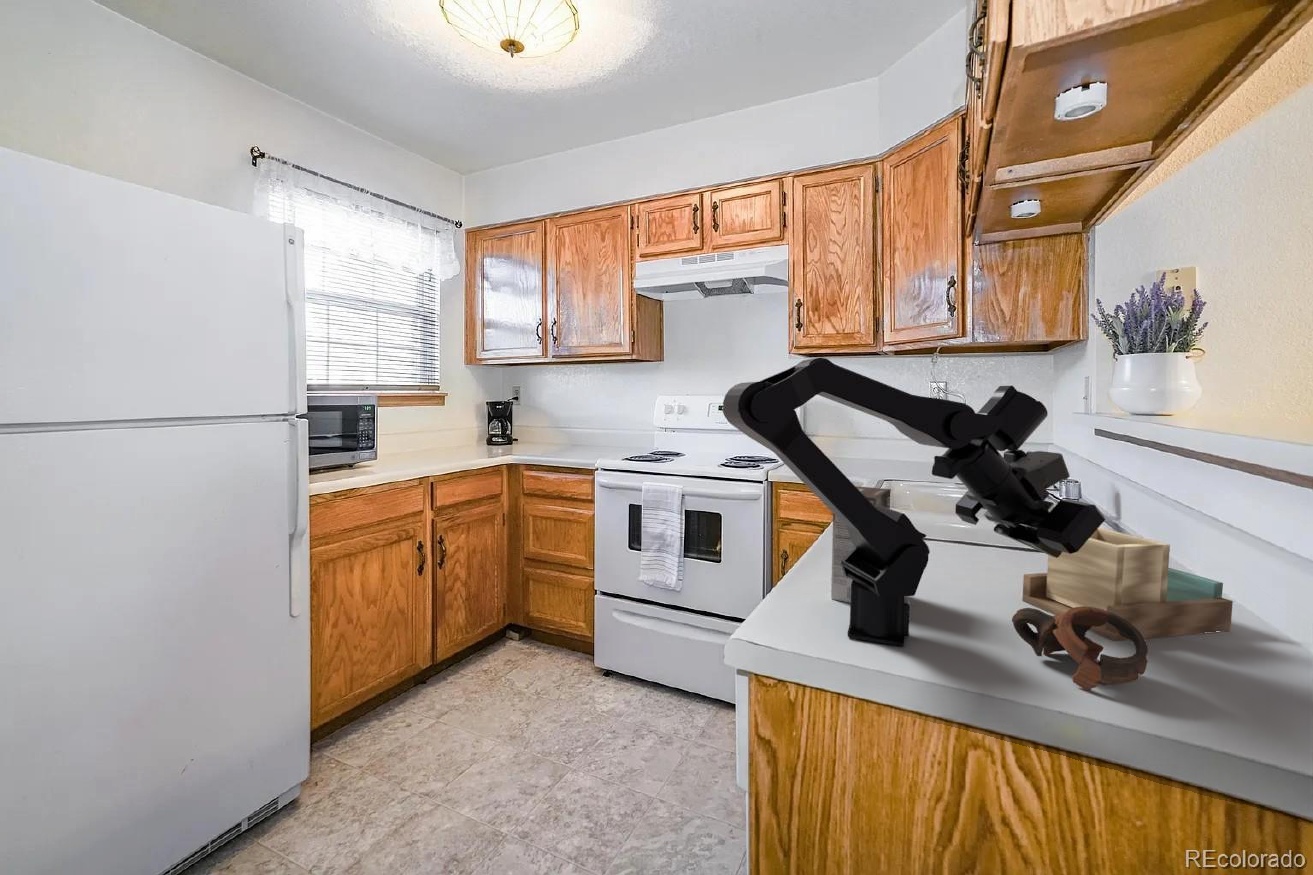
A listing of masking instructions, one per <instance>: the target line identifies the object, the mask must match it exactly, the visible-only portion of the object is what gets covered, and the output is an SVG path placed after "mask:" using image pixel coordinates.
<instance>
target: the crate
mask: <svg viewBox="0 0 1313 875" xmlns="http://www.w3.org/2000/svg"><path fill="white" fill-rule="evenodd" d="M1170 548H1171V544H1169V543H1165V542H1161V541H1157V540H1154V539H1153V540H1152V539H1148V538H1144V537H1139V536H1136V535H1131V534H1128V533H1124V532H1123V533H1122V532H1119V531H1115V530H1111V529H1106V528H1102V527H1099V528H1098V529H1097V530H1096V531H1095V532H1094V533H1093V534H1092V536H1091V537H1090V538H1089V539H1088V540H1087V541H1086V543H1085V544H1084V545H1083V546H1082V547H1081V548H1080V550H1079V551H1078V552H1075V553H1072V554H1069V553H1066V552H1062V553H1061V555H1060V556H1059V557H1058V558H1055V557H1052V556H1050V555H1048V554H1047V570H1046V573H1047V588H1046V597H1048V598H1050V599H1053V600H1055V601H1058V602H1060V603H1063V604H1065V605H1068V606H1070V607H1072V608H1075V607H1082V606H1085V607H1094V608H1098V609H1102V610H1105V611H1107V606H1114V605H1128V604H1142V603H1156V602H1166V594H1167V580H1168V568H1169V563H1170V551H1171V549H1170Z"/></svg>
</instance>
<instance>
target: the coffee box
mask: <svg viewBox="0 0 1313 875" xmlns="http://www.w3.org/2000/svg"><path fill="white" fill-rule="evenodd" d="M854 486H855V487H856V488H857V489H858V490H859V491H860V492H861V493H862V494H863V495H864V496H865V497H866V498H867V499H868V500H869V501H870V502H871V503H872V504H873V505H874V506H875V508H876V506H877V505H880V506H883V507H886V508H889V509H891V505H890V504H891V488H879V487H867V486H866V487H865V486H856V485H854ZM831 542H832V548H831V582H830V584H831V585H830V586H831V589H830V595H831V596H830V599H831V600H835V601H840V602H845V603H850V601H851V584H852V579H851V578H849V577H846V576H845V575H844V572H843V569H842V566H841V561H842V560H843V559H844V558H845V557H846V556H847V555H848V554H849V553H850V552H851V551H852V550H853V548H854V547H855V546H854V544H853V543H852V541H851V538H850V536H849V533H848V530H847V528H846V526H845V525H844V524H843V523H842V522H841V521H840V520H839V519H838V517H837V516H836V515H835V514H834V513H833V512H832V541H831ZM880 572H882V570H880Z"/></svg>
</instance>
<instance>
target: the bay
mask: <svg viewBox="0 0 1313 875" xmlns="http://www.w3.org/2000/svg"><path fill="white" fill-rule="evenodd" d="M1022 585H1023V586H1022V602H1025V603H1026V604H1029V605H1031V606H1034V607H1036V608H1038V609H1039V610H1040V609H1041V610H1043V611H1045V612H1046V613H1048V614H1051V615H1053V616H1057V615H1059V614H1062V613H1066V612H1067V611H1068V610H1070V609H1072V607H1070V606H1068V605H1065V604H1063V603H1060V602H1058V601H1055V600H1053V599H1050V598H1048V597H1046V588H1047V572H1040V573H1039V572H1038V573H1024V574H1023V583H1022ZM1223 585H1224V583H1223V582H1221V581H1218V580H1214V579H1211V578H1207V577H1204V576H1200V575H1196V574H1193V573H1189V572H1185V571H1182V570H1178V569H1175V568H1172V567H1168V580H1167V594H1166V602H1156V603H1142V604H1128V605H1114V606H1107V612H1109V613H1113V614H1115V615H1117V616H1119V617H1121V618H1123V619H1124V620H1126V621H1127V622H1129V623H1130V624H1132V625H1133V626H1134V627H1135V628H1136V629H1137V630H1138V631H1139V632H1140V633H1141V635H1142V636H1143V638H1144V639H1155V638H1164V637H1165V638H1166V637H1167V638H1168V637H1178V636H1190V635H1199V633H1203V634H1206V633H1205V632H1215V633H1217V632H1216V631H1227V632H1231V627H1232V617H1233V616H1232V614H1233V603H1234V602H1233V600H1230V599H1227V598H1225V597H1223V589H1224V587H1223ZM1088 631H1091V632H1092V633H1096V635H1099V636H1102V637H1104V638H1106V639H1108V640H1111V641H1114V642H1117V641H1119V642H1120V641H1130V640H1129V639H1127V638H1125V637H1123V636H1121V635H1120V634H1119V631H1118V630H1117V629H1116V628H1115V627H1114V626H1112V625H1111V624H1109V623H1108V622H1106V624H1105V625H1102V626H1099V627H1096V626H1092V627H1091V628H1090V629H1089V630H1088Z"/></svg>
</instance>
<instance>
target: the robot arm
mask: <svg viewBox="0 0 1313 875" xmlns="http://www.w3.org/2000/svg"><path fill="white" fill-rule="evenodd" d="M817 395H818V396H821V397H823V398H825V399H827V400H831V401H833V402H836V403H838V404H841V405H844V406H846V407H849V408H851V409H854V410H857V411H860V412H862V413H865V414H867V415H870V416H873V417H875V418H877V419H881V420H883V421H884V422H885V421H886V422H887V423H889V424H890V425H892V426H894V427H895V429H896V430H897V431H899V433H901V434H902V435H904V436H905V437H907V438H909V439H911V441H914V443H915V442H916V443H917V444H918V445H923V446H929V447H936V448H944V449H946V451H945V452H944V453H943V454H942V455H935V456H933V459H934V462H933V465H932V467H931V468H932V469H931V474H932V475H931V476H934V477H938V478H942V479H943V478H944V479H948V480H952V479H954V478H955V477H956V478H958V480H959V481H960V482H961V483H962V485H964V486H965V487H966V489H967V491H966V492H965V493H964V494H963V496H962V497H961V498H959V500H958V501H957V502H956V504H955V513H954V514H956V516H958V517H959V519H961V521H962V522H965V523H968V524H971V525H974V526H977V524H978V523H979V521H980V519H979V517H977V514H978V513H979V512H980V511H981V510H986V511H985V513H984V514H983V515H984V517H985V519H986V520H988V521H989V522H993V523H994V524H995V526H994V528H993V531H994V533H996V534H998V535H1001V536H1004V537H1006V538H1008V539H1011V540H1014V541H1016V542H1018V543H1020V544H1022V545H1025V546H1027V547H1030V548H1032V549H1034V550H1036V551H1039V552H1041V553H1044V554H1046V555H1047V556H1048V555H1050V556H1052V557H1055V558H1058V557H1059V556H1060V555H1061V553H1062V552H1066V553H1069V554H1072V553H1075V552H1078V551H1079V550H1080V548H1081V547H1082V546H1083V545H1084V544H1085V543H1086V541H1087V540H1088V539H1089V538H1090V537H1091V536H1092V534H1093V533H1094V532H1095V531H1096V530H1097V529H1098V528H1100V527H1101V525H1102V524H1103V523H1104V522H1105V521H1106V518H1105V515H1104V514H1103V513H1102V511H1101V510H1100V509H1099V508H1098V506H1096V504H1093V503H1087V502H1082V501H1077V500H1073V499H1060V500H1059V501H1058V502H1057V503H1056V504H1055V503H1054V502H1052V501H1047V498H1048V497H1049V495H1050V492H1049V491H1048V490H1047V489H1048V488H1051V487H1052V486H1054V485H1056V484H1057V483H1058V484H1059V482H1061V481H1066V480H1067V479H1069V478H1070V476H1071V475H1070V473H1069V469H1068V468H1067V464H1066V462H1065V458H1064V457H1063V454H1062V453H1060V452H1050V451H1042V450H1037V451H1026V452H1025V451H1024V450H1023V449H1020V448H1021V447H1022V445H1024V443H1025V442H1026V441H1027V440H1028V438H1030V436H1031V435H1032V434H1033V433H1034V432H1035V431H1036V430H1037V428H1039V427H1040V425H1042V423H1043V422H1044V420H1045V419H1046V418H1047V417H1048V410H1047V407H1046V406H1045V405H1044V404H1043V402H1041V401H1040V400H1037V399H1035V398H1034V397H1032V396H1031V395H1029V394H1026V393H1024V392H1023V391H1022V392H1021V391H1019V390H1018V389H1016V388H1015V386H1014V385H999V386H998V387H997V389H995V391H994V392H993V393H992V395H991V397H990V399H989V400H988V401H987V402H986V403H985V404H983V406H982V407H981V408H980V409H979V411H977V412H976V411H975V410H974V408H973V407H971V406H970V405H969V404H967V403H964V402H960V401H955V400H949V399H944V398H938V397H937V398H936V397H929V396H921V395H917V394H911V393H909V392H906V391H904V390H901V389H899V388H896V387H893V386H892V385H888V384H885V383H884V382H881V381H878V380H876V379H874V378H871V377H868V376H866V375H863V374H861V373H858V372H855V371H853V370H850V369H848V368H845V367H843V366H840V365H838V364H835V363H833V362H832V361H831V360H830V359H828V358H824V357H816V358H810V359H809V358H808V359H804V360H802V361H800V362H798V363H797V364H796V365H794V366H791V367H790V368H788V369H785V370H783V371H780V372H778V373H776V374H773V375H771V376H769V377H766V378H764V379H762V380H760V381H747V382H741V383H737V384H735V385H734V386H732V387H731V388H730V389H728V391H727V392H726V393H725V395H724V398H723V401H722V413H723V416H724V417H725V419H726V420H727V422H728V423H729V424H730V425H731V426H732V427H734V428H736V429H738V430H739V431H740V432H742V433H743V434H744V435H746V437H749V438H750V439H752V440H753V441H755V442H756V443H757V444H760V445H762V446H763V447H765V448H766V449H768V450H770V451H772V452H773V453H774V454H775V455H776V456H777V457H778V458H779V459H780V461H782V462H783V463H784V464H785V465H786V466H787V467H788V469H790V470H791V472H793V473H794V475H796V477H797V478H798V479H799V480H800V481H801V482H802V483H803V484H804V485H805V486H806V487H807V488H808V489H809V490H810V491H811V492H812V493H813V494H814V495H815V496H816V497H817V498H818V499H819V501H821V502H822V503H823V504H824V505H825V506H826V507H827V509H829V510H830V511H831V513H832V514H833V513H834V514H835V515H836V516H837V517H838V519H839V520H840V521H841V522H842V523H843V524H844V525H845V526H846V528H847V530H848V533H849V536H850V538H851V541H852V543H853V544H854V546H855V547H854V548H853V550H852V551H851V552H850V553H849V554H848V555H847V556H846V557H845V558H844V559H843V560H842V561H841V566H842V569H843V572H844V575H845V576H846V577H849V578H851V579H852V584H851V601H850V608H849V626H848V630H847V637H848V638H850V639H856V640H862V641H869V642H874V643H881V644H887V645H892V646H896V647H897V646H899V647H904V646H905V638H907V637H909V635H910V634H909V633H910V632H909V631H910V630H909V629H910V608H911V607H910V605H911V603H910V600H911V599H910V598H909V597H914V596H915V595H916V593H917V591H918V588H919V584H920V582H921V579H922V577H923V574H924V572H925V569H926V567H927V566H928V562H929V555H930V554H931V550H930V547H929V546H928V544H927V542H926V541H925V540H924V538H926V537H927V534H925V533H923V532H921V531H919V530H918V529H917V528H916V527H915V525H914V524H913V523H912V520H910V518H909V517H908V516H907V515H906V514H905V513H902V512H899V511H896V510H894V509H891V508H890V509H889V508H886V507H883V506H880V505H877V506H876V508H875V506H874V505H873V504H872V503H871V502H870V501H869V500H868V499H867V498H866V497H865V496H864V495H863V494H862V493H861V492H860V491H859V490H858V489H857V488H856V487H855V486H856V485H855V484H854V483H853V482H852V481H851V480H850V479H849V478H848V477H847V476H846V474H844V473H843V472H842V471H841V470H840V468H838V466H837V465H836V464H835V463H834V462H833V461H832V460H831V459H830V458H829V457H828V456H827V455H826V453H824V452H823V451H822V450H821V449H820V448H819V446H818V445H817V444H816V443H814V441H813V440H812V439H811V438H810V437H809V436H808V435H807V434H806V432H805V431H804V429H803V428H802V424H801V422H800V419H799V417H798V416H799V415H798V414H797V411H796V410H797V409H798V408H801V407H802V406H803V405H804V404H806V403H807V402H809V401H810V400H812V399H813V398H814V397H815V396H817ZM1000 452H1003V456H1002V454H1001V453H1000ZM880 570H882V572H880Z"/></svg>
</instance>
